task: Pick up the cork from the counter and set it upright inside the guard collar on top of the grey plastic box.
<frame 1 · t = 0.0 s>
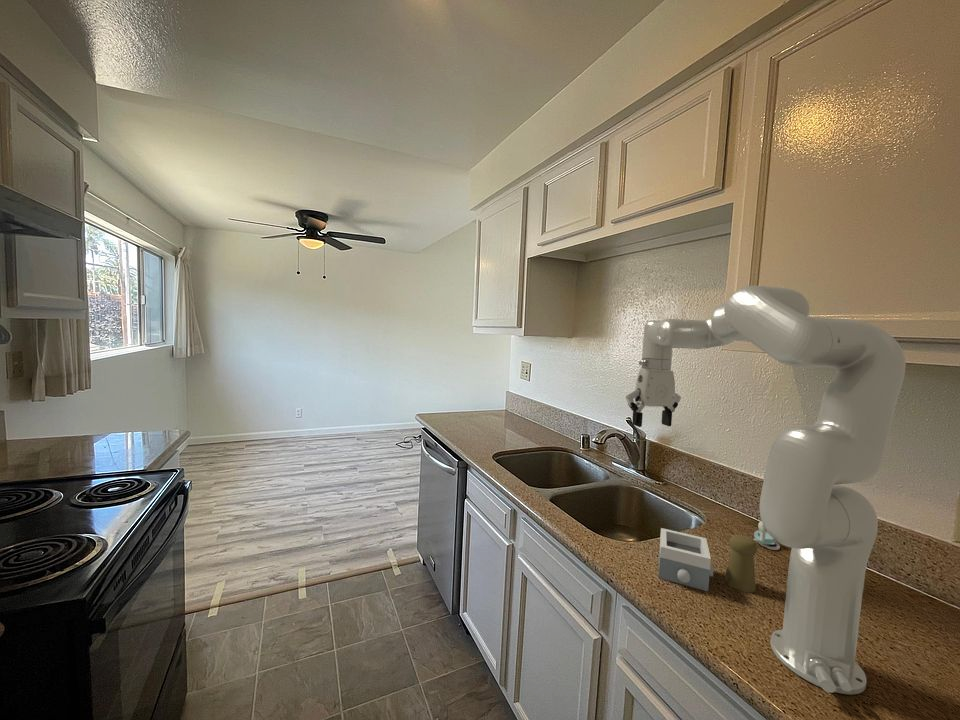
hand: (651, 425, 109), 31 cm above the worktop, tool pointing down, fingers open, 9 cm apart
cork: (739, 584, 89), on the worktop
pacifier: (766, 545, 107), on the worktop
grey plastic box: (681, 572, 92), on the worktop
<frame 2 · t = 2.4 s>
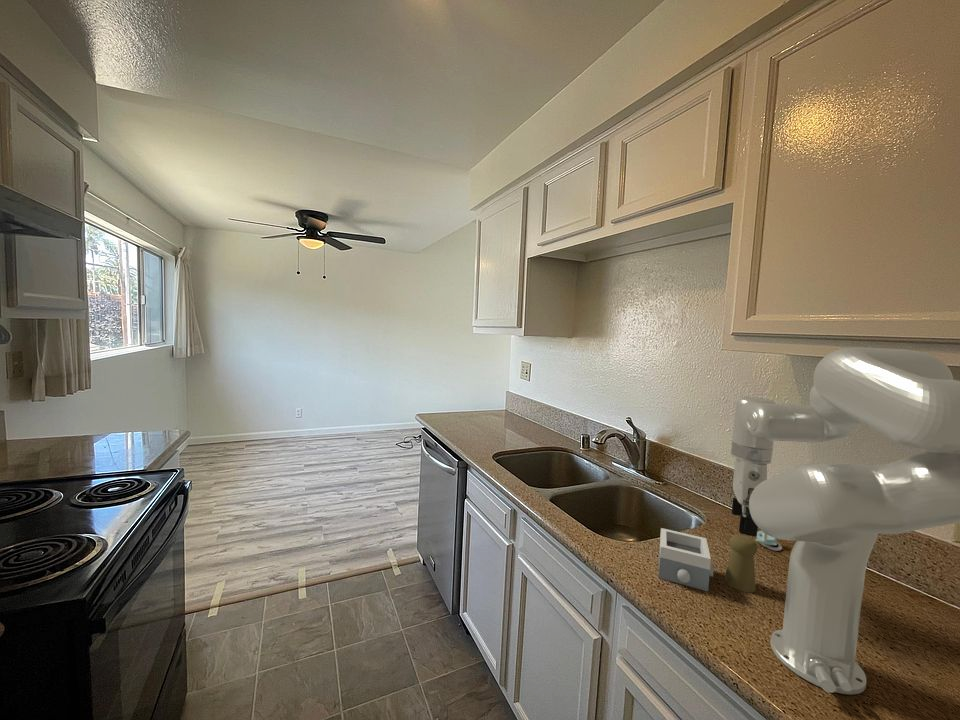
hand: (743, 524, 89), 14 cm above the worktop, tool pointing down, fingers open, 9 cm apart
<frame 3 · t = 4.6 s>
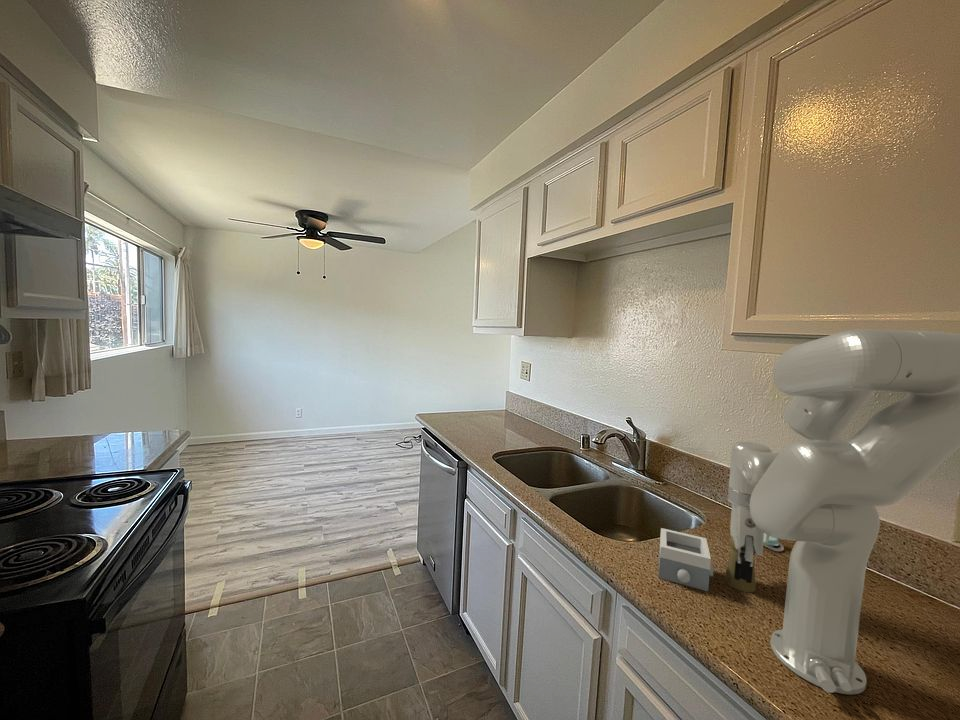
hand: (740, 574, 89), 2 cm above the worktop, tool pointing down, fingers closed on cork, 3 cm apart
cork: (739, 584, 89), on the worktop, touching gripper
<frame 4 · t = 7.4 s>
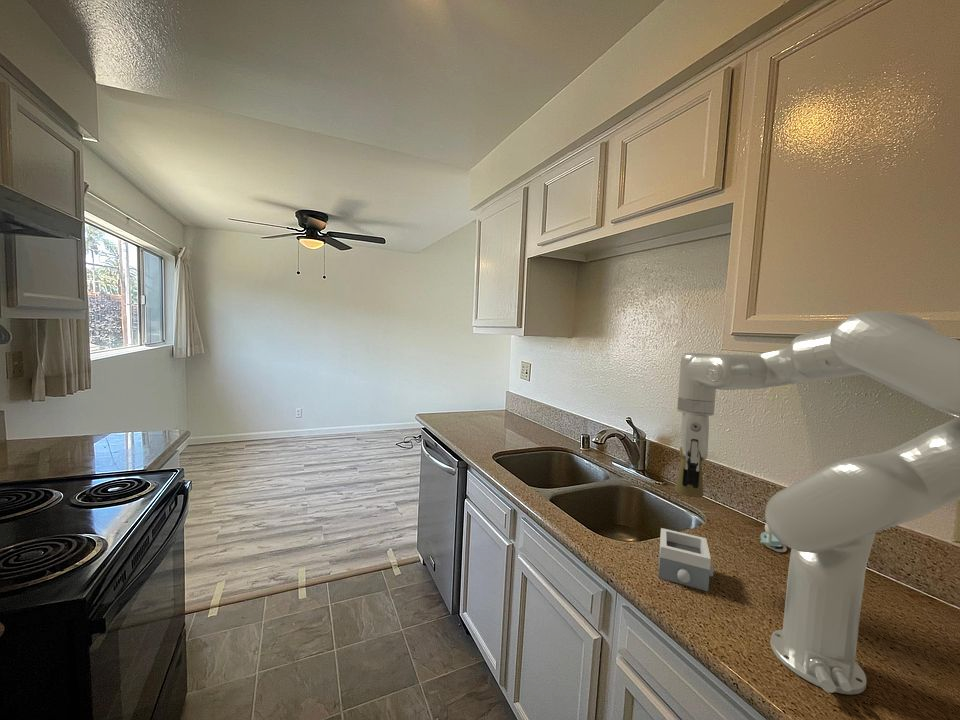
hand: (689, 482, 91), 22 cm above the worktop, tool pointing down, fingers closed on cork, 3 cm apart
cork: (688, 492, 91), point 20 cm above the worktop, touching gripper
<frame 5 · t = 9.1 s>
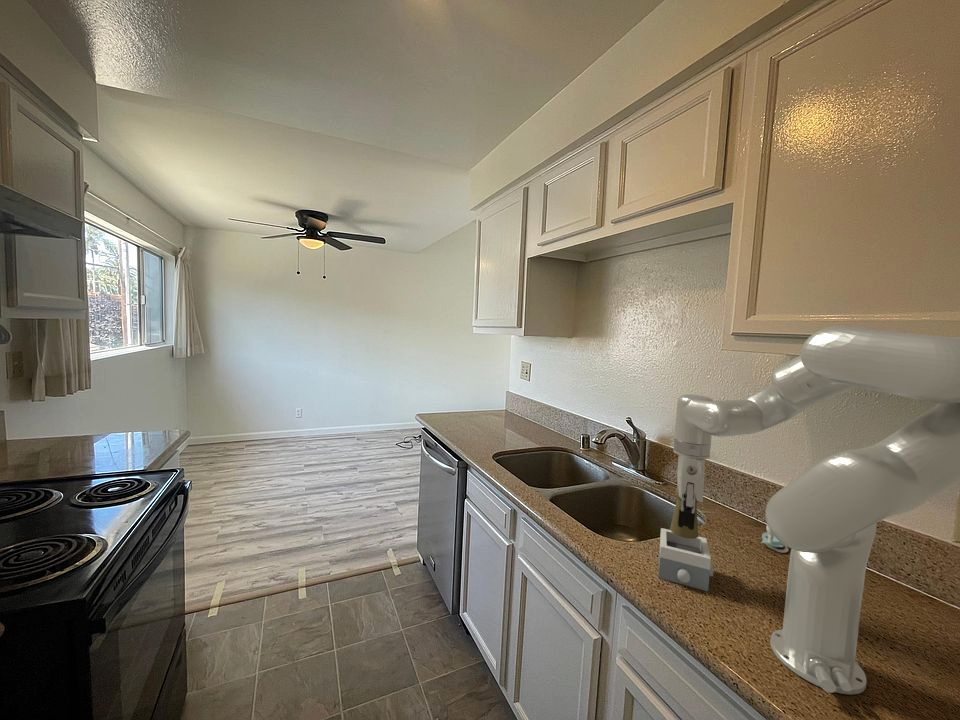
hand: (685, 522, 91), 12 cm above the worktop, tool pointing down, fingers closed on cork, 3 cm apart
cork: (684, 532, 92), point 10 cm above the worktop, touching gripper
when the fingers open (9 cm above the worktop, at t = 10.6 s): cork drops 1 cm, resting on grey plastic box.
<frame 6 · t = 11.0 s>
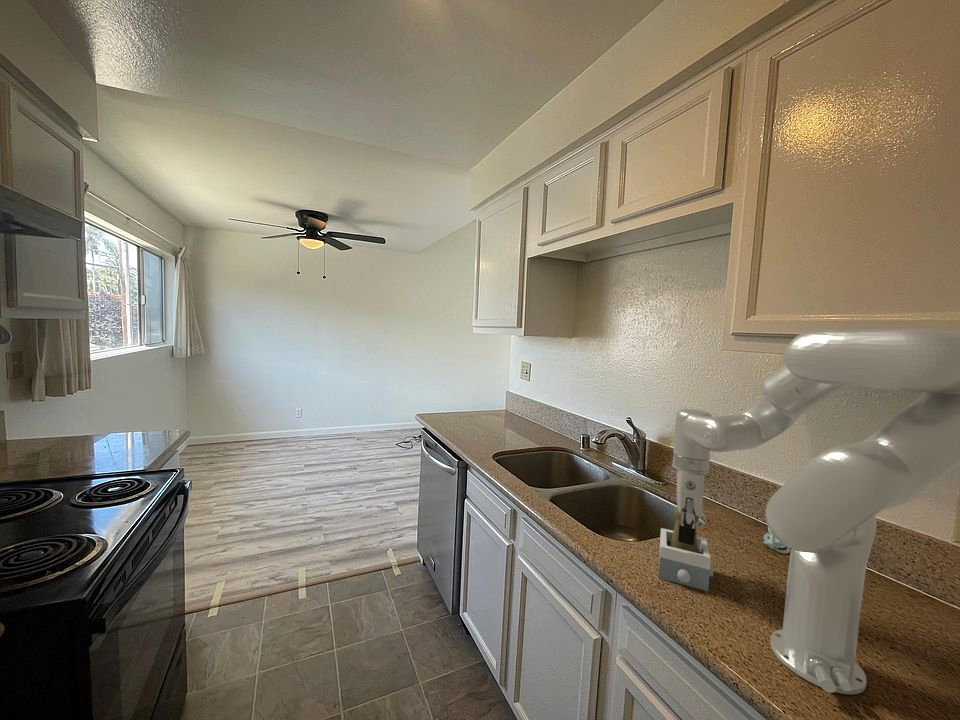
hand: (684, 533, 91), 10 cm above the worktop, tool pointing down, fingers open, 8 cm apart
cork: (683, 552, 92), point 5 cm above the worktop, touching grey plastic box
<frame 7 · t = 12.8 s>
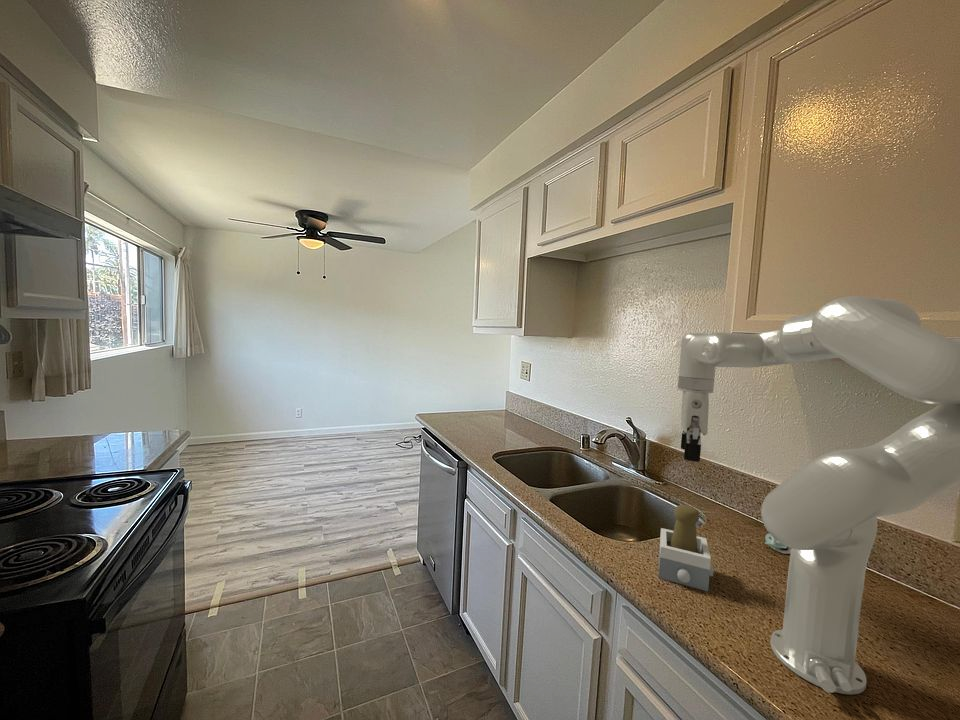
hand: (689, 454, 94), 28 cm above the worktop, tool pointing down, fingers open, 9 cm apart
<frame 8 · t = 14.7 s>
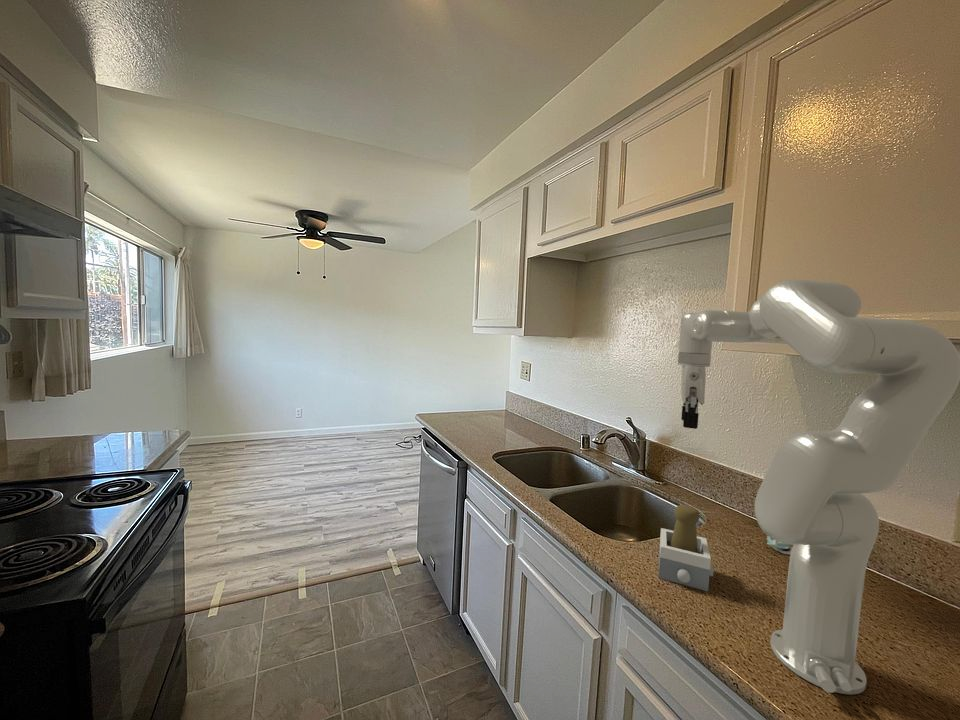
hand: (688, 424, 103), 33 cm above the worktop, tool pointing down, fingers open, 9 cm apart
at the end: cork 0.1 cm off-centre on the grey plastic box, point 4.9 cm above the grey plastic box's base; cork tilted 0°; the gripper is holding nothing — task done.
